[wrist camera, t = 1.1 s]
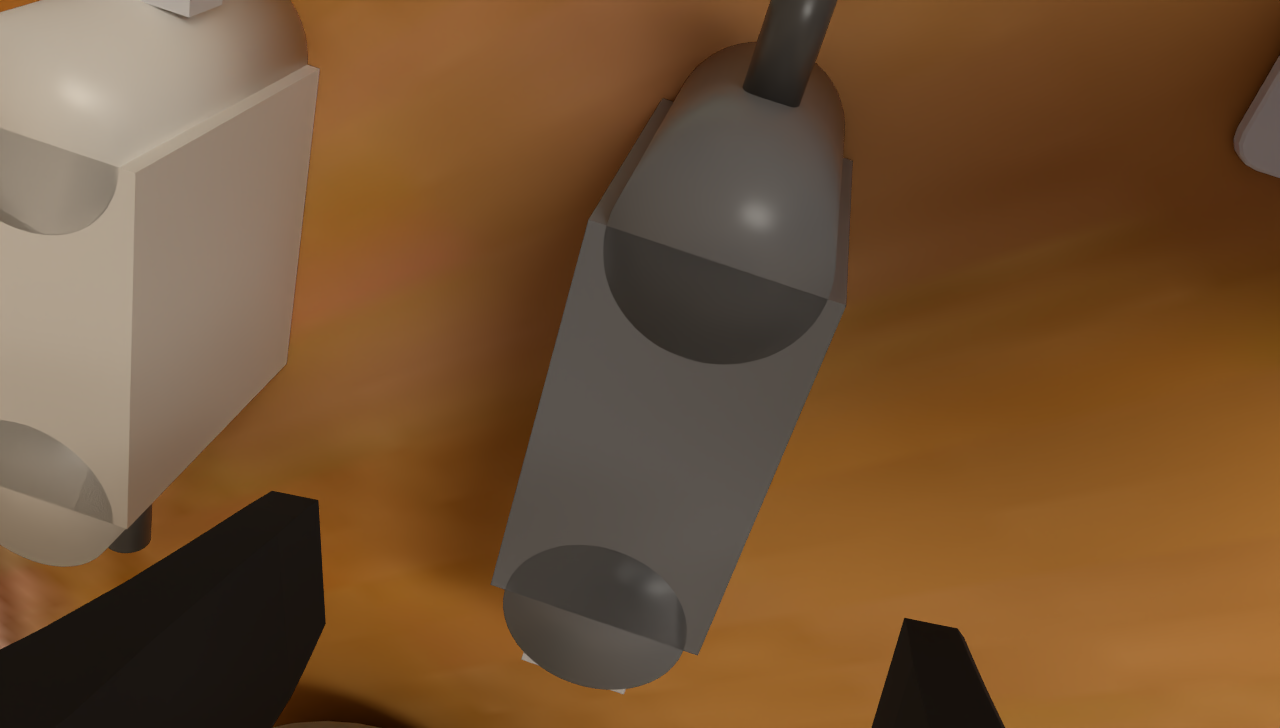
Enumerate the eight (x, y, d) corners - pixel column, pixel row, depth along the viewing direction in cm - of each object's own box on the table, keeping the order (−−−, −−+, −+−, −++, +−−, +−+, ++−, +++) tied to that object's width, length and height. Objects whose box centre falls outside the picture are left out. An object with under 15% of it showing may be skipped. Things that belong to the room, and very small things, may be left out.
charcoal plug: (720, -104, 18) (659, -47, 13) (930, -35, 18) (955, 49, 13) (534, 541, 25) (447, 743, 20) (682, 592, 25) (632, 807, 20)
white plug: (273, 484, 26) (123, 666, 21) (130, 436, 26) (-53, 605, 21) (345, -164, 18) (142, -133, 13) (146, -227, 19) (-132, -221, 13)
